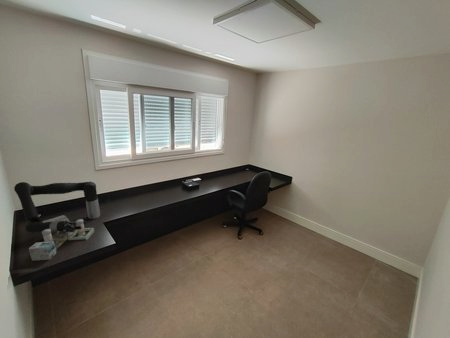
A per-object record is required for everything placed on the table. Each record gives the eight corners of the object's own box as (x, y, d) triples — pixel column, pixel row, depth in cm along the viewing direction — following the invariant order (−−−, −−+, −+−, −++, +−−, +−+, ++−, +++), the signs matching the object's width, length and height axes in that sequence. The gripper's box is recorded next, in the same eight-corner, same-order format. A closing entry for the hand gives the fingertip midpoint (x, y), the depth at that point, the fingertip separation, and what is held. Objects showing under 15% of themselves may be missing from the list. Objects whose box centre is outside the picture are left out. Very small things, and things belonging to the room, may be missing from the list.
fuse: (48, 244, 140) (44, 229, 136) (55, 244, 141) (52, 228, 137) (44, 249, 136) (39, 232, 132) (51, 248, 136) (47, 232, 133)
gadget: (72, 225, 168) (71, 221, 167) (50, 233, 156) (49, 229, 155) (63, 216, 181) (62, 213, 180) (42, 223, 169) (41, 219, 168)
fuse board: (57, 234, 154) (56, 230, 153) (73, 234, 156) (73, 229, 154) (36, 253, 134) (35, 248, 133) (56, 251, 136) (55, 247, 135)
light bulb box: (57, 254, 134) (54, 240, 131) (50, 261, 127) (47, 247, 124) (39, 255, 132) (35, 241, 129) (31, 262, 125) (27, 248, 122)
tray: (78, 232, 158) (77, 228, 157) (94, 231, 160) (93, 227, 159) (69, 241, 146) (68, 237, 145) (86, 240, 148) (85, 236, 147)
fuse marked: (80, 234, 155) (77, 219, 151) (86, 233, 155) (84, 219, 152) (77, 237, 150) (74, 222, 147) (83, 237, 151) (81, 222, 147)
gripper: (51, 227, 140) (77, 225, 143) (64, 216, 154) (87, 216, 156) (53, 236, 142) (79, 234, 145) (66, 225, 156) (89, 224, 158)
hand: (83, 225), depth 151 cm, fingers open, 6 cm apart
